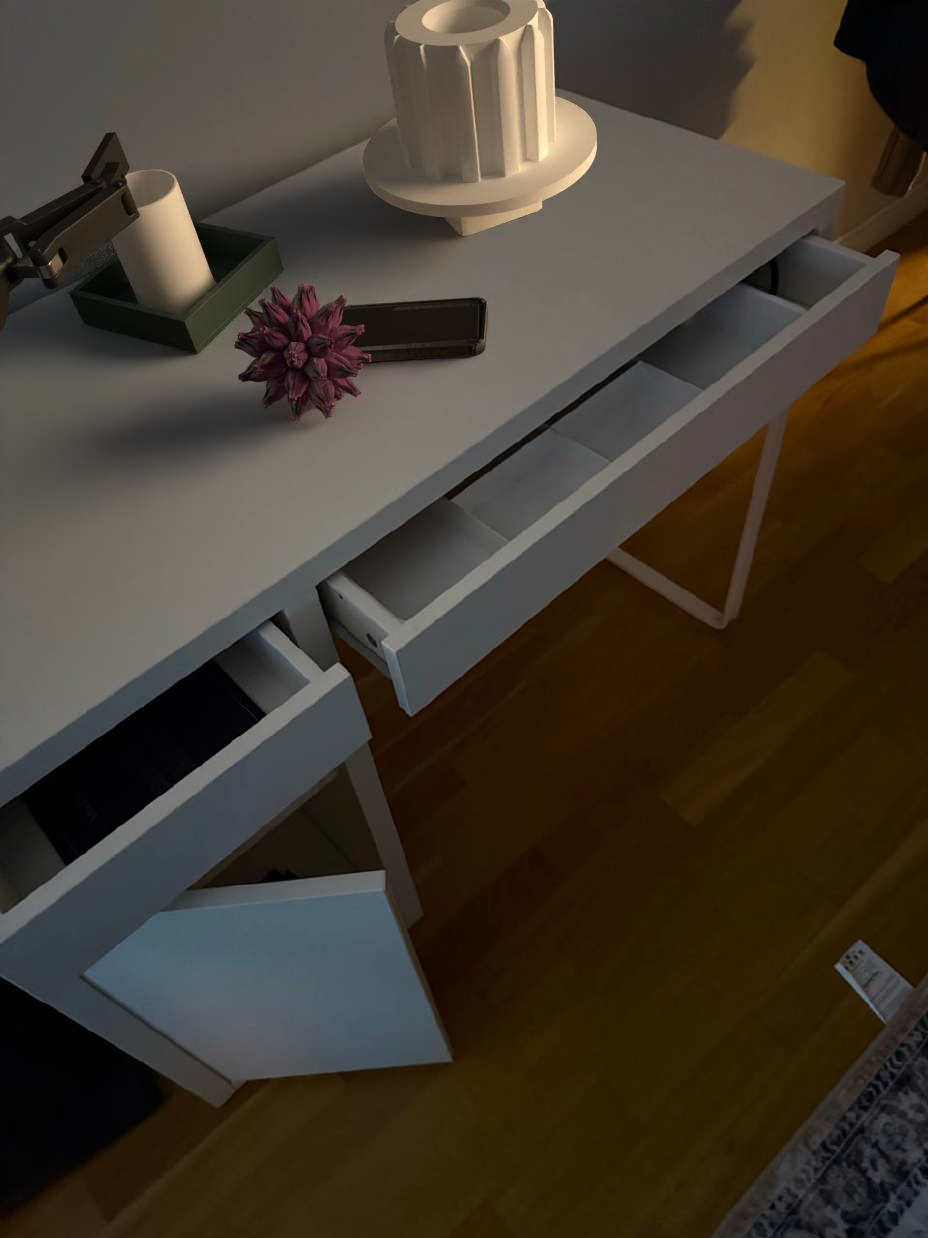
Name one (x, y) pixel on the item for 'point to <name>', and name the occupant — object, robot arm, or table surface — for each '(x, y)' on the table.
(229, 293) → the bin
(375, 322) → the phone
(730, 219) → the table surface
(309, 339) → the flower
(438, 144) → the flanged gear
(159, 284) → the mug
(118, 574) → the table surface
